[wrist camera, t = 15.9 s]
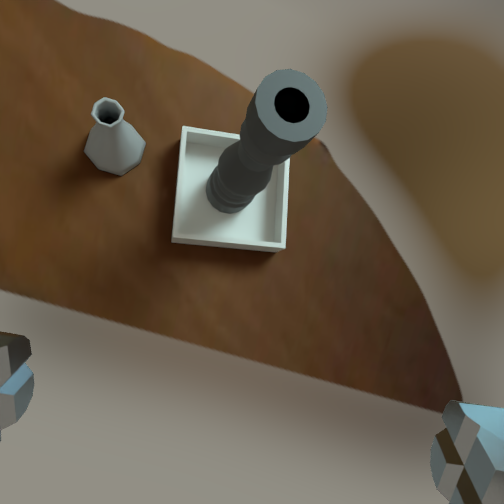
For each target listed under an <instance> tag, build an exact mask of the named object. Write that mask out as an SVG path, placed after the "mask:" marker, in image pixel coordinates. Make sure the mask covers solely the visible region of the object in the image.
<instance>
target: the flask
mask: <svg viewBox="0 0 504 504" xmlns="http://www.w3.org/2000/svg"><path fill="white" fill-rule="evenodd" d="M124 112H125V111H124V109H123V108H122V107H121V106H120V104H119V103H118V102H117V101H115V100H112V99H109V98H106V97H104V98H102V99H101V100H99V101H97V102H96V103H94V106H93V109H92V112H91V116H92V117H93V118H94V119H95V121H96V124H95V125H94V127H93V128H92V129H91V130H90V133H89V136H88V140H87V143H86V146H85V149H84V152H85V153H86V155H87V156H88V157H89V158H90V160H91V161H92V162H93V163H94V164H95V166H96V167H97V168H98V169H99V170H102V171H106V172H109V173H113V174H116V175H120V176H122V175H124V174H125V173H127V172H128V171H130V170H131V169H133V168H134V167H135V166H137V165H138V164H140V162H141V158H142V155H143V151H144V148H145V145H146V143H145V141H144V140H143V139H142V138H141V136H140V135H139V134H138V133H137V131H136V130H135V129H134V128H133V126H132V125H130V124H129V123H127V122H125V121H124V120H123V115H124Z"/></svg>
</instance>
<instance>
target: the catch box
mask: <svg viewBox="0 0 504 504" xmlns="http://www.w3.org/2000/svg"><path fill="white" fill-rule="evenodd" d="M239 140H240V135H237V134H231V133H225V132H218V131H212V130H206V129H199V128H193V127H187V126H183V127H182V133H181V139H180V150H179V161H178V172H177V183H176V194H175V205H174V216H173V228H172V239H171V242H172V243H182V244H193V245H203V246H214V247H224V248H235V249H245V250H256V251H266V252H278V251H281V250H283V249H285V246H286V225H287V204H288V183H289V162H290V158H289V159H287V160H286V161H284V162H283V163H281V164H279V165H274V166H273V170H272V175H271V180H270V181H269V183H268V185H267V186H266V188H265V189H264V190H262V191H261V192H259V193H258V194H257V195H255V197H254V199H253V200H252V202H251V203H250V204H249V205H248V206H247V207H245V208H244V209H243V210H241V211H240V212H237V213H232V214H228V213H223V212H220V211H218V210H217V209H215V208H214V207H213V206H212V205H211V203H210V202H209V201H208V199H207V194H206V185H207V181H208V179H209V177H210V175H211V173H212V172H213V170H214V169H215V167H216V166H218V160H219V157H220V156H221V154H222V153H223V151H224V150H225V148H227V147H229V146H230V145H232V144H233V143H235V142H237V141H239Z"/></svg>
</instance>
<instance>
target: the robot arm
mask: <svg viewBox="0 0 504 504" xmlns="http://www.w3.org/2000/svg"><path fill="white" fill-rule="evenodd" d="M31 355H32V353H31V347H30V340H29V339H27V338H26V337H25V336H23V335H17V334H12V333H6V332H0V441H1V430H2V429H4V428H6V427H8V426H10V425H12V424H14V423H16V422H17V421H18V420H19V419H20V417H21V416H22V415H23V414H24V412H25V411H26V409H27V407H28V405H29V402H30V400H31V398H32V396H33V389H34V374H33V372H32V371H31V370H30V368H29V367H28V366H27V365H26V363H25V362H26V361H27V360H28V358H29V357H30V356H31ZM442 419H443V421H444V423H445V425H446V427H447V428H445V429H444V430H442V431H441V432H439V433H438V434H436V435H435V438H434V441H433V444H432V447H431V461H430V463H431V464H430V465H431V471H432V477H433V480H434V482H435V485H436V488H437V490H438V491H439V492H440V493H441V494H442V495H443V496H444V497H445V498H446V499H447V500H448V501H449V504H504V408H500V407H493V406H487V405H479V404H472V403H466V402H459V401H452V400H451V401H450V402H449V403H448V404H447V406H446V407H445V410H444V412H443V415H442Z"/></svg>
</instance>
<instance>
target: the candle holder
mask: <svg viewBox="0 0 504 504" xmlns="http://www.w3.org/2000/svg"><path fill="white" fill-rule="evenodd" d="M326 115H327V104H326V100H325V96H324V93H323V92H322V90H321V89H320V87H319V86H318V84H317V83H316V82H315V81H314V80H312V79H311V78H310V77H308V76H307V75H306V74H305V73H302V72H298V71H295V70H292V69H285V70H276V71H275V72H273V73H271V74H269V75H268V76H266V77H265V78H264V79H263V81H262V82H261V84H260V85H259V87H258V88H257V90H256V92H255V94H254V96H253V98H252V100H251V102H250V104H249V106H248V108H247V114H246V119H245V120H244V122H243V123H242V125H241V131H240V140H239V141H237V142H235V143H233V144H232V145H230V146H229V147H227V148H225V150H224V151H223V153H222V154H221V156H220V157H219V160H218V166H216V167H215V169H214V170H213V172H212V173H211V175H210V177H209V179H208V181H207V185H206V194H207V199H208V201H209V202H210V203H211V205H212V206H213V207H214V208H215V209H217V210H218V211H220V212H223V213H228V214H232V213H237V212H240V211H241V210H243V209H244V208H245V207H247V206H248V205H249V204H250V203H251V202H252V200H253V199H254V197H255V195H257V194H258V193H259V192H261V191H262V190H264V189H265V188H266V186H267V185H268V183H269V181H270V180H271V175H272V170H273V166H274V165H279V164H281V163H283V162H284V161H286V160H287V159H289V158H290V156H291V155H292V154H295V153H296V152H298V151H299V150H301V149H302V148H304V147H305V146H306V145H307V144H308V143H309V142H310V141H311V140H312V139H313V138H314V137H315V136H316V135H317V134H318V133H319V131H320V130H321V128H322V126H323V125H324V123H325V122H326Z"/></svg>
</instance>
